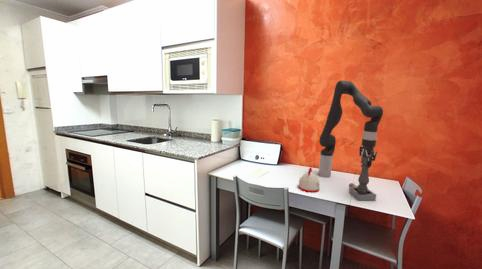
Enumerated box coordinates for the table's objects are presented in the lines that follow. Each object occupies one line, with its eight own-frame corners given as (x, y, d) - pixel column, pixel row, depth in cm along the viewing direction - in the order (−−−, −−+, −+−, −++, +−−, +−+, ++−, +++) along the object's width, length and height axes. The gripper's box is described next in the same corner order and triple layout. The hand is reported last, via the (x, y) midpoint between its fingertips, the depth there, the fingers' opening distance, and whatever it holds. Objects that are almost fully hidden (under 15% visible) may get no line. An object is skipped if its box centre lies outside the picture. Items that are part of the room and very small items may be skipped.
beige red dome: (296, 189, 151) (297, 168, 148) (300, 182, 163) (302, 163, 160) (317, 194, 145) (319, 172, 142) (320, 187, 157) (322, 166, 154)
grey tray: (343, 189, 155) (344, 182, 154) (358, 189, 155) (359, 182, 154) (358, 201, 137) (359, 194, 136) (375, 201, 138) (376, 194, 137)
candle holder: (369, 196, 140) (374, 158, 135) (359, 196, 139) (364, 157, 135) (363, 191, 146) (368, 155, 141) (354, 191, 145) (359, 155, 141)
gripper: (383, 141, 129) (379, 168, 132) (368, 136, 143) (364, 161, 146) (370, 141, 128) (366, 168, 132) (356, 136, 143) (353, 161, 146)
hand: (365, 164), depth 139 cm, fingers closed on candle holder, 5 cm apart
